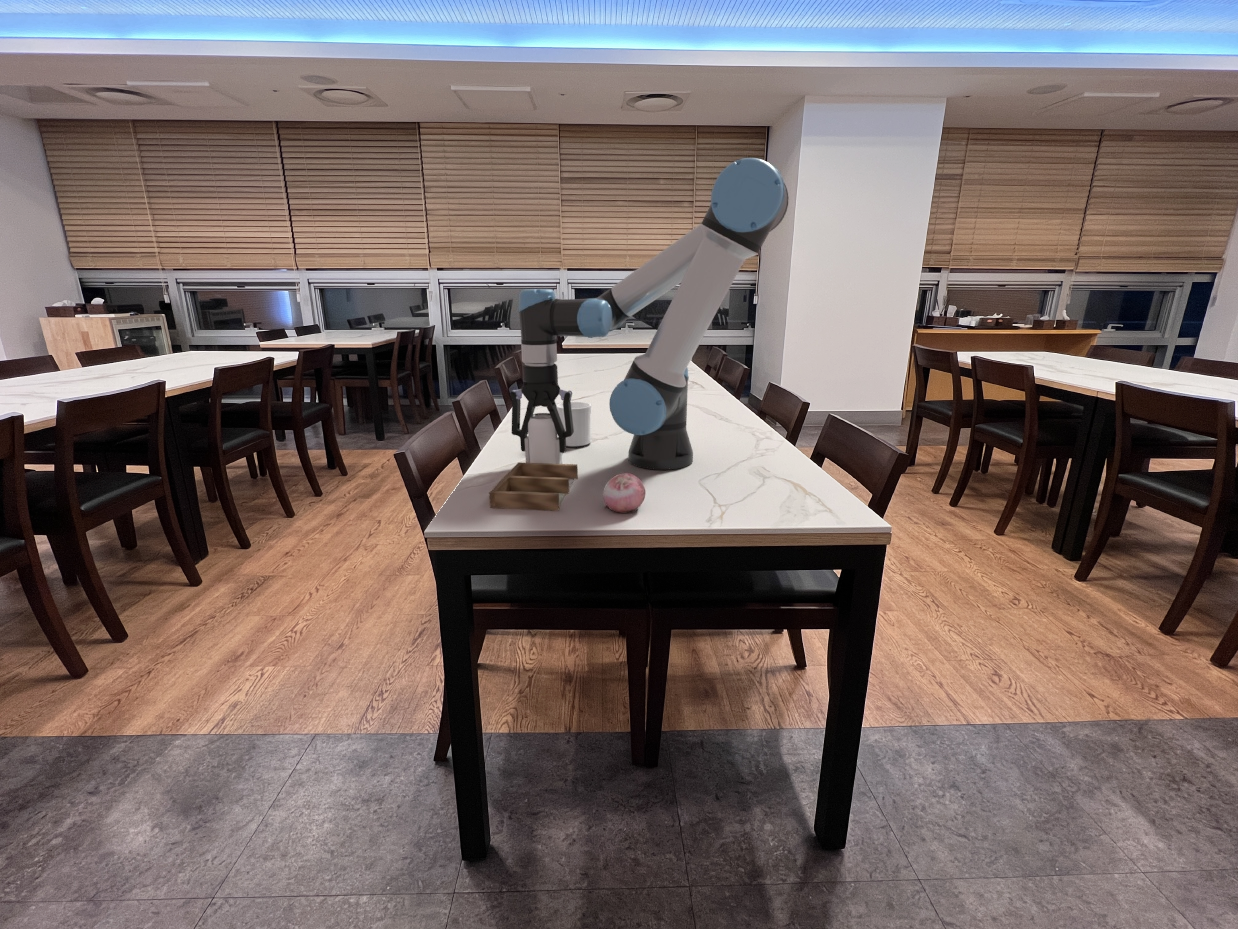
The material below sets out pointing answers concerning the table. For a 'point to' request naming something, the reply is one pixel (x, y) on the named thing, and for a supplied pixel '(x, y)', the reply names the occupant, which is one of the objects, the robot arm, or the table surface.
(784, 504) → the table surface
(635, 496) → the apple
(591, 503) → the table surface
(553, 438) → the can
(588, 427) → the mug
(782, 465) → the table surface
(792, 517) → the table surface
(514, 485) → the comb rack
